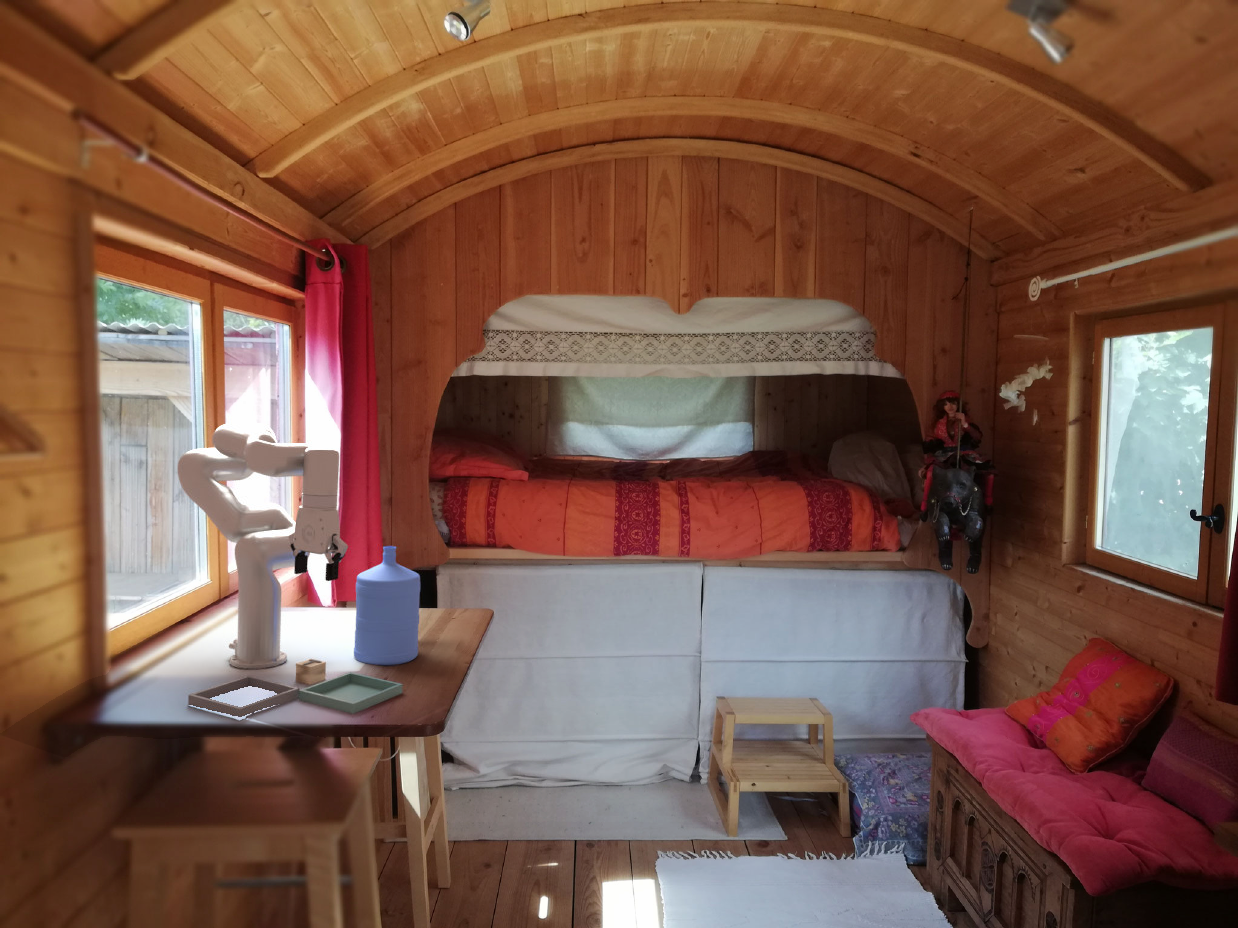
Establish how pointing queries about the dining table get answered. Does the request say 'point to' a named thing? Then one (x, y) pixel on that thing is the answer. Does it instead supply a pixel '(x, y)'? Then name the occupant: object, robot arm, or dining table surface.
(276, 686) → the brown tray
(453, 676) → the dining table surface
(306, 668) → the letter cube
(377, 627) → the water jug
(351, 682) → the green tray
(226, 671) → the dining table surface
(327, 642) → the dining table surface
